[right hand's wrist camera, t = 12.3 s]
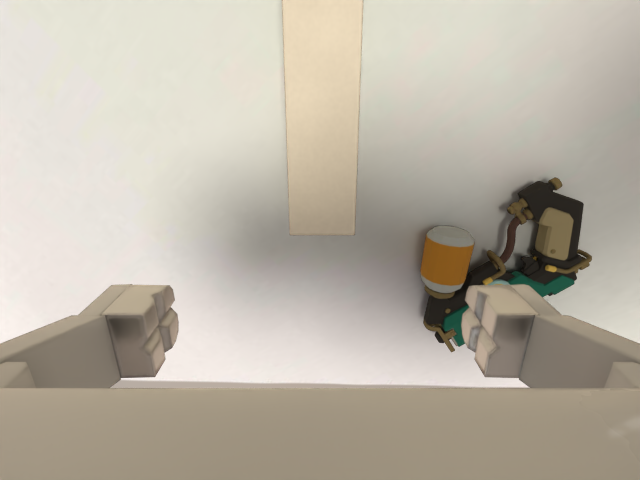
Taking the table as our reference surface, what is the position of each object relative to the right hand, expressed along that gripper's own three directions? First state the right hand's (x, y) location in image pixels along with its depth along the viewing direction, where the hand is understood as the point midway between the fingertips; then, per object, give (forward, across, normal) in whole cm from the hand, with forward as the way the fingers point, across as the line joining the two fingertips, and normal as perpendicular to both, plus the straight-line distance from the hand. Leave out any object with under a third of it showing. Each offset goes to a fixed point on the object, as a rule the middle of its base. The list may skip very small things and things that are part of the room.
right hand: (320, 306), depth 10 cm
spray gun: (+25, -17, +10) cm, 32 cm away
